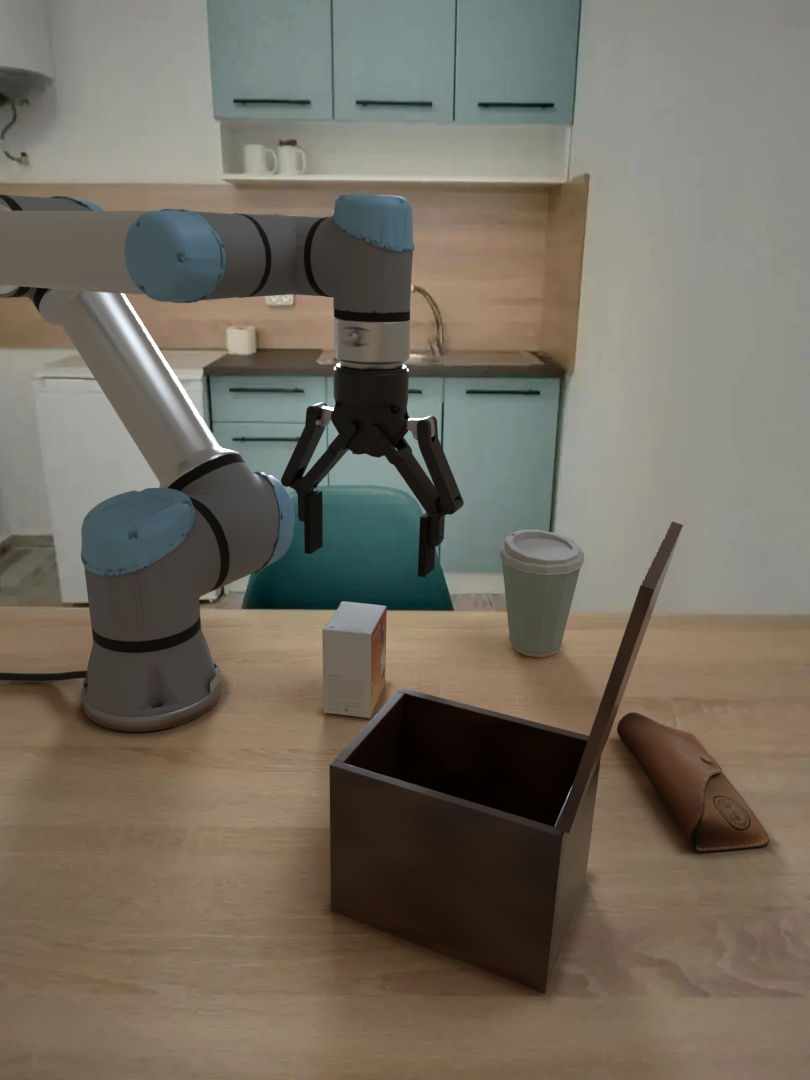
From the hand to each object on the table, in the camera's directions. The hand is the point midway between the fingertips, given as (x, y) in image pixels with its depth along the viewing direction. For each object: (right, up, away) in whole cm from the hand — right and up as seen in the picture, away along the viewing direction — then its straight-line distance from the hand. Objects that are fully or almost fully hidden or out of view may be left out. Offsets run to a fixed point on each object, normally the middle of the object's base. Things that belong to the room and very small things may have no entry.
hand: (368, 561), depth 90 cm
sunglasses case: (+32, -22, -8) cm, 40 cm away
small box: (-2, -16, +6) cm, 18 cm away
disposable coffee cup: (+21, -12, +20) cm, 31 cm away
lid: (+18, -7, -34) cm, 39 cm away
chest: (+9, -27, -22) cm, 36 cm away
